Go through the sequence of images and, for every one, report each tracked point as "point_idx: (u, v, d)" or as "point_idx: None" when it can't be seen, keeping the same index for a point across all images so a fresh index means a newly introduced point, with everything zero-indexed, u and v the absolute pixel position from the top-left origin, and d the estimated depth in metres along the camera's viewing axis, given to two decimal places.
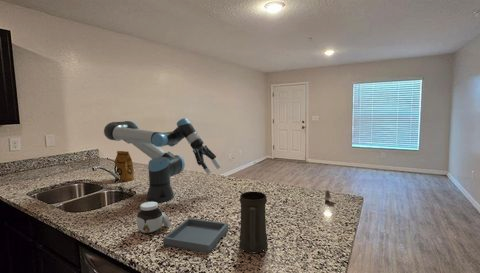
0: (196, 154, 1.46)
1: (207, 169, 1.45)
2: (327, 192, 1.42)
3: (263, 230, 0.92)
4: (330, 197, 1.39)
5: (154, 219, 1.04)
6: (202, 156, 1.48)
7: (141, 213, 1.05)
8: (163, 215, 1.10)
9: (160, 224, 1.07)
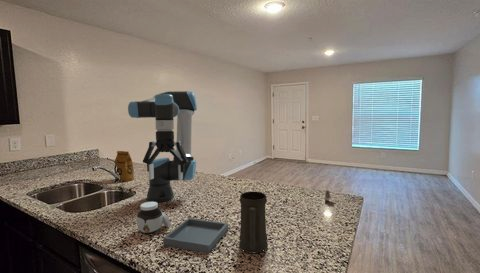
0: None
1: None
2: (327, 192, 1.42)
3: (263, 230, 0.92)
4: (330, 197, 1.39)
5: (154, 219, 1.04)
6: (153, 155, 1.10)
7: (141, 213, 1.05)
8: (163, 215, 1.10)
9: (160, 224, 1.07)
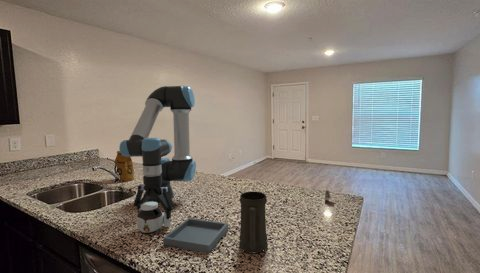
0: None
1: None
2: (327, 192, 1.42)
3: (263, 230, 0.92)
4: (330, 197, 1.39)
5: (154, 219, 1.04)
6: (142, 200, 1.09)
7: (141, 213, 1.05)
8: (163, 215, 1.10)
9: (160, 224, 1.07)
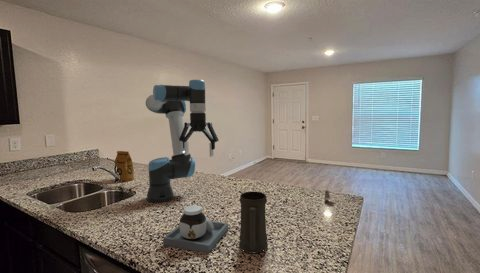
0: None
1: None
2: (326, 192, 1.42)
3: (263, 230, 0.92)
4: (330, 197, 1.39)
5: (200, 224, 0.97)
6: (188, 134, 1.26)
7: (186, 218, 0.98)
8: (207, 219, 1.03)
9: (205, 229, 1.00)
